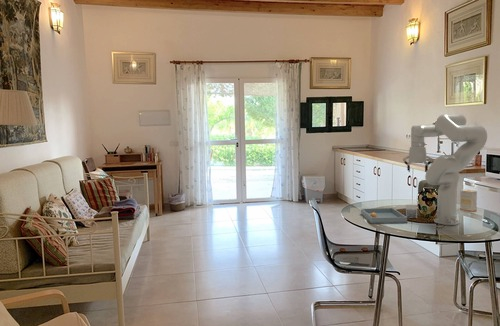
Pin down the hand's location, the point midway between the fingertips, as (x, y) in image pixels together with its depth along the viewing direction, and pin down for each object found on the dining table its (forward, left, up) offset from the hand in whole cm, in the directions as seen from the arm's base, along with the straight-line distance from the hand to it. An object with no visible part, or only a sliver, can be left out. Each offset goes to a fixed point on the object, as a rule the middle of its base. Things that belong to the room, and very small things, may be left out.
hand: (417, 171), depth 226 cm
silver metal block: (-10, +8, -26) cm, 29 cm away
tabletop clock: (+16, -16, -26) cm, 35 cm away
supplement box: (+2, -33, -26) cm, 42 cm away
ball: (-17, +32, -24) cm, 43 cm away
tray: (-14, +26, -26) cm, 39 cm away
